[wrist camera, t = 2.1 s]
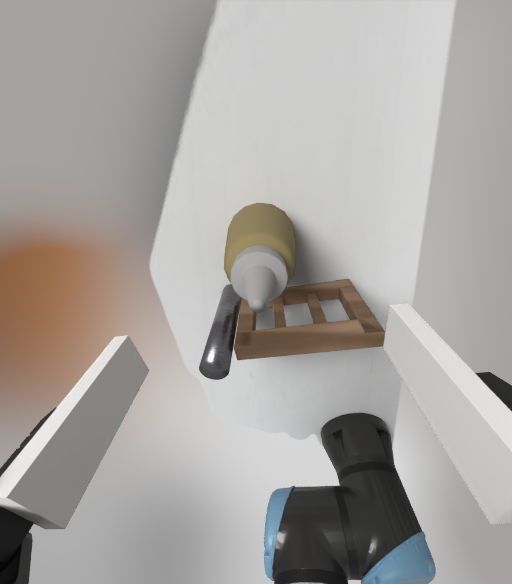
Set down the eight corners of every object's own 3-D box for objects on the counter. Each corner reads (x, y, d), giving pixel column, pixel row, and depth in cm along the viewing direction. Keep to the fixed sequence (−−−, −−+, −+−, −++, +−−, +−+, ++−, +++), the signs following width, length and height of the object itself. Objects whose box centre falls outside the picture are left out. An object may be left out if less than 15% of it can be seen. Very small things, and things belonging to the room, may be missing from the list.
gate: (348, 289, 32) (383, 346, 23) (245, 302, 34) (237, 360, 25) (348, 278, 32) (385, 332, 22) (242, 292, 33) (233, 348, 24)
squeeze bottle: (257, 182, 28) (248, 216, 12) (304, 226, 30) (346, 299, 15) (219, 233, 31) (174, 310, 15) (264, 268, 33) (264, 365, 18)
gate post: (243, 299, 36) (232, 378, 23) (225, 301, 37) (204, 380, 24) (239, 283, 35) (225, 357, 22) (220, 285, 35) (195, 360, 22)
